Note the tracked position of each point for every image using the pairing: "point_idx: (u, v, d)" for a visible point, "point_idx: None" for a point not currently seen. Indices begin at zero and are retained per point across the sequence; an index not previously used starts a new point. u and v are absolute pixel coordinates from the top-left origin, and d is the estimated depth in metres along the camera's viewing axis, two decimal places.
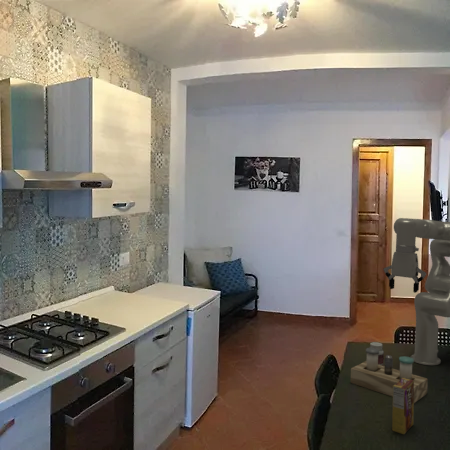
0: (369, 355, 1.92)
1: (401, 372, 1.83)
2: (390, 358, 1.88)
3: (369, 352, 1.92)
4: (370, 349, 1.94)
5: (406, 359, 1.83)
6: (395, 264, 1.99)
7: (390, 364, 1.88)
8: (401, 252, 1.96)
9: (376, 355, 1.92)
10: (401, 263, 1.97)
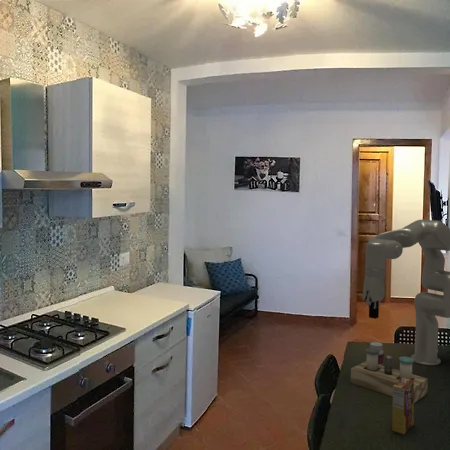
0: (369, 355, 1.92)
1: (401, 372, 1.83)
2: (390, 358, 1.88)
3: (369, 352, 1.92)
4: (370, 349, 1.94)
5: (406, 359, 1.83)
6: (376, 290, 1.88)
7: (390, 364, 1.88)
8: (383, 276, 1.88)
9: (376, 355, 1.92)
10: (380, 287, 1.90)
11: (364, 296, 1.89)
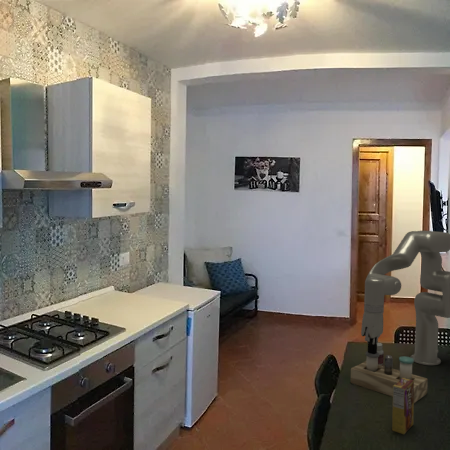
0: (369, 358, 1.92)
1: (401, 372, 1.83)
2: (390, 358, 1.88)
3: (369, 355, 1.92)
4: None
5: (406, 359, 1.83)
6: (374, 326, 1.89)
7: (390, 364, 1.88)
8: (382, 312, 1.90)
9: (376, 358, 1.92)
10: (378, 323, 1.91)
11: (363, 332, 1.90)
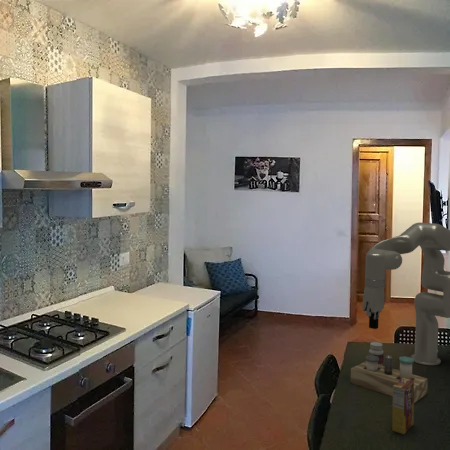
0: (369, 363, 1.93)
1: (401, 372, 1.83)
2: (390, 358, 1.88)
3: (369, 360, 1.92)
4: (370, 357, 1.94)
5: (406, 359, 1.83)
6: (376, 300, 1.88)
7: (390, 364, 1.88)
8: (383, 286, 1.89)
9: (376, 363, 1.92)
10: (379, 298, 1.90)
11: (364, 307, 1.90)
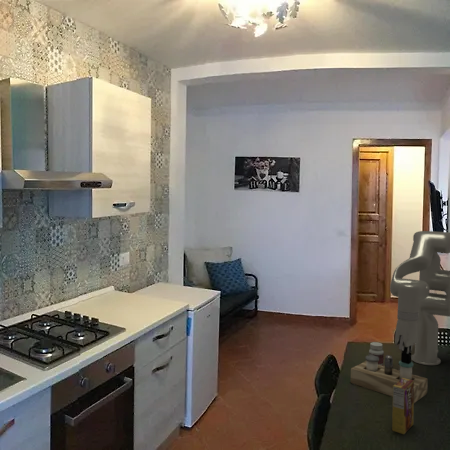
0: (369, 363, 1.93)
1: (401, 376, 1.83)
2: (390, 358, 1.88)
3: (369, 360, 1.92)
4: (370, 357, 1.94)
5: None
6: (409, 334, 1.79)
7: (390, 364, 1.88)
8: (417, 319, 1.80)
9: (376, 363, 1.92)
10: (413, 331, 1.81)
11: (397, 341, 1.81)
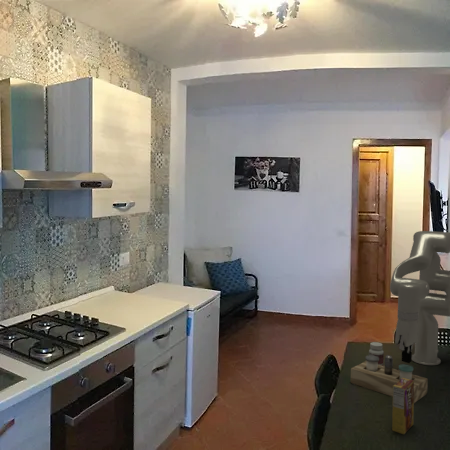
0: (369, 363, 1.93)
1: None
2: (390, 358, 1.88)
3: (369, 360, 1.92)
4: (370, 357, 1.94)
5: (405, 367, 1.84)
6: (410, 334, 1.79)
7: (390, 364, 1.88)
8: (417, 319, 1.80)
9: (376, 363, 1.92)
10: (413, 331, 1.81)
11: (397, 340, 1.81)
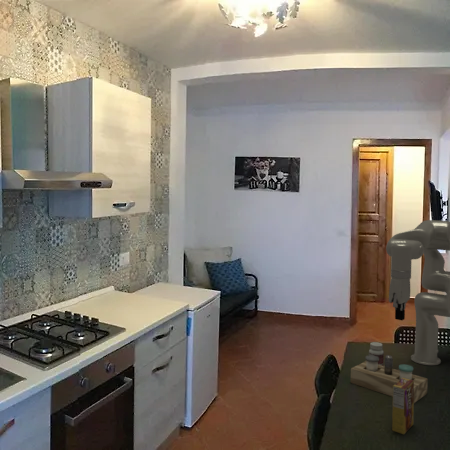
0: (369, 363, 1.93)
1: None
2: (390, 358, 1.88)
3: (369, 360, 1.92)
4: (370, 357, 1.94)
5: (405, 367, 1.84)
6: (403, 292, 1.86)
7: (390, 364, 1.88)
8: (409, 277, 1.86)
9: (376, 363, 1.92)
10: (406, 289, 1.87)
11: (390, 298, 1.87)
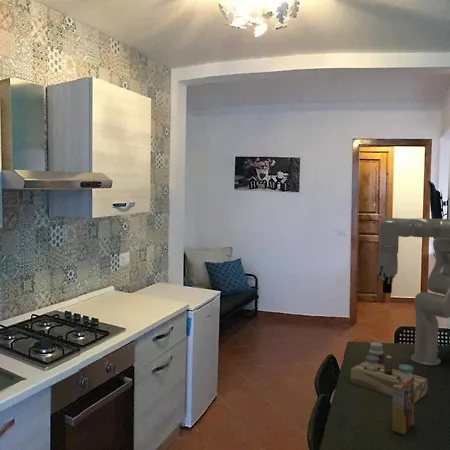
0: (369, 363, 1.93)
1: None
2: (390, 358, 1.88)
3: (369, 360, 1.92)
4: (370, 357, 1.94)
5: (405, 367, 1.84)
6: (390, 265, 1.97)
7: (390, 364, 1.88)
8: (396, 252, 1.98)
9: (376, 363, 1.92)
10: (393, 263, 1.99)
11: (378, 272, 1.99)
